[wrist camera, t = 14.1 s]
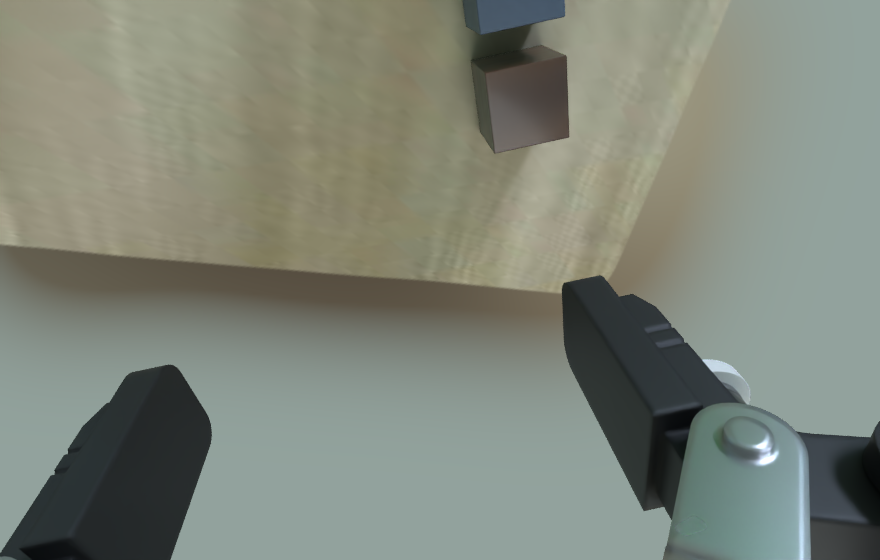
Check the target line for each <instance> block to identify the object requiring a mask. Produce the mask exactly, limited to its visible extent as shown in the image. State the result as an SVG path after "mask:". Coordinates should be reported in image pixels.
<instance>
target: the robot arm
mask: <svg viewBox="0 0 880 560" xmlns="http://www.w3.org/2000/svg"><path fill="white" fill-rule="evenodd" d="M562 302H563V303H562V304H563V329H564V345H565V351H566V355H567V359H568V362H569V365H570V367H571V369H572V372H573V374H574V375H575V378H576V379H577V381H578V383H579V385H580V387H581V389H582V391H583V393H584V395H585V397H586V399H587V401H588V403H589V405H590V407H591V409H592V411H593V413H594V415H595V417H596V419H597V421H598V422H599V424H600V426H601V428H602V430H603V432H604V434H605V436H606V438H607V440H608V442H609V444H610V446H611V448H612V450H613V452H614V454H615V456H616V458H617V460H618V462H619V464H620V465H621V467H622V469H623V471H624V473H625V475H626V477H627V479H628V481H629V483H630V485H631V487H632V489H633V491H634V493H635V495H636V497H637V499H638V501H639V503H640V505H641V506H642V508H643V510H644V511H646V510H651V509H655V508H660V507H665V509H666V511H667V513H668V515H669V516H670V518H671V520H672V522H671V527H670V532H669V537H668V542H667V546H666V548H665V552H664V556H663V560H880V421H879V423H878V424H877V426H876V427H875V430H874V432H873V434H872V436H871V438H870V437H853V436H838V435H822V434H810V433H801V432H797V431H795V430H794V429H793V428H792V427H791V426H790V425H789V424H788V423H786V422H785V421H783V420H782V419H780V418H779V417H778V416H776V415H774V414H772V413H770V412H768V411H766V410H763V409H761V408H758V407H754V406H751V405H747V404H746V403H745V401H744V400H743V398H742V397H741V395H740V394H739V393H738V392H737V391H736V389H735V388H734V387H732V386H731V385H729V384H727V383H724V382H721V381H720V380H719V379H718V378H717V377H716V376H715V374H714V373H713V372H712V371H711V370H710V369H709V367H708V366H707V365H706V364H705V363H704V362H703V361H702V359H701V358H700V357H699V356H698V355H697V354H696V353H695V351H694V350H693V349H692V348H691V347H690V346H689V345H688V343H685V342H684V339H683V338H682V336H681V335H680V334H679V333H678V332H677V331H676V329H675V328H672V327H671V324H670V323H669V321H668V320H667V319H666V318H665V317H664V316H663V315H662V313H661V312H660V311H659V310H658V309H657V308H656V307H655V306H653V305H652V304H650V303H648V302H646V301H644V300H643V299H641V298H639V297H637V296H635V295H634V294H630V295H625V296H621V297H619V296H618V295H617V294H616V292H615V291H614V290H613V289H612V287H611V286H610V285H609V283H608V282H607V281H606V280H605V278H604V277H602V276H600V275H599V276H594V277H590V278H585V279H580V280H575V281H571V282H566V283H564V284H563V287H562ZM211 433H212V432H211V424H210V420H209V417H208V415H207V414H206V412H205V410H204V409H203V407H202V406H201V404H200V403H199V401H198V399H197V397H196V396H195V394H194V393H193V391H192V389H191V388H190V386H189V385H188V383H187V381H186V380H185V378H184V377H183V375H182V373H181V372H180V371H179V370H178V368H177V367H175V366H173V365H165V366H160V367H155V368H151V369H146V370H141V371H136V372H132V373H130V374H128V375H127V376H126V377H125V379H124V380H123V382H122V383H121V385H120V386H119V388H118V390H117V392H116V393H115V395H114V396H113V398H112V399H111V401H110V403H107V404H106V405H104V406H103V407H102V408H101V409H100V410H99V411H98V412H97V413H96V414H95V415H94V416H93V417H92V418H91V419H90V420H89V421H88V422H87V423H86V424H85V425H84V426H83V427H82V428H81V430H80V432H79V433H78V435H77V436H76V438H75V439H74V441H73V442H72V444H71V445H70V447H69V448H68V454H66V455H64V456H63V458H62V459H61V461H60V462H59V464H58V465H57V467H56V469H55V470H54V471H55V475H52V476H50V478H49V479H48V481H47V482H46V484H45V485H44V487H43V488H42V490H41V491H40V494H39V495H38V496H37V498H36V499H35V501H34V502H33V504H32V506H31V507H30V508H29V510H28V512H27V513H26V515H25V516H24V518H23V519H22V521H21V522H20V524H19V526H18V527H17V528H16V530H15V532H14V533H13V535H12V536H11V538H10V539H9V541H8V542H7V544H6V545H5V547H4V548H3V550H2V552H1V553H0V560H170V559H171V556H172V553H173V550H174V547H175V545H176V542H177V539H178V536H179V533H180V530H181V528H182V525H183V522H184V519H185V516H186V513H187V510H188V508H189V505H190V502H191V499H192V496H193V493H194V490H195V487H196V485H197V481H198V479H199V476H200V473H201V470H202V467H203V465H204V462H205V459H206V456H207V453H208V450H209V447H210V444H211V436H212V434H211Z"/></svg>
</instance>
